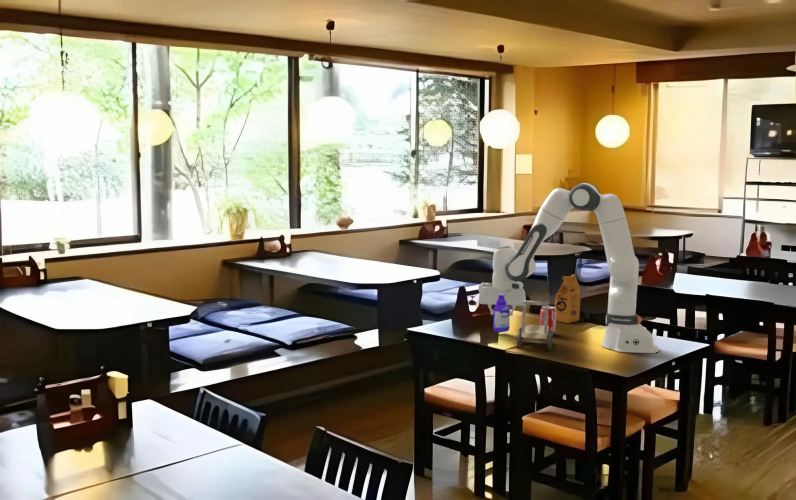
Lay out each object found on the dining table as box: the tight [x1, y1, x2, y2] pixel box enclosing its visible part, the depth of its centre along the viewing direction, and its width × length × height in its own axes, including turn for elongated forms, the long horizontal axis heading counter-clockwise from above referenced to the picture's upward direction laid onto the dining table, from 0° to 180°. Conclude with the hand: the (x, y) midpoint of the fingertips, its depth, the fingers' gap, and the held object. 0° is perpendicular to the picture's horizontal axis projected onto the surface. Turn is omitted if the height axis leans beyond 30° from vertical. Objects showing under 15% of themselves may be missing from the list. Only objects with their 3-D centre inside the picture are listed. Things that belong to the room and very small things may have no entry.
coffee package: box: [554, 273, 581, 324], centre depth 376 cm, size 10×12×22 cm
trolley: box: [516, 300, 554, 351], centre depth 322 cm, size 14×16×20 cm
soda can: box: [539, 305, 557, 335], centre depth 346 cm, size 7×7×12 cm
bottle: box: [493, 292, 511, 333], centre depth 342 cm, size 7×6×17 cm
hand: (501, 314), depth 343 cm, fingers closed on bottle, 7 cm apart
